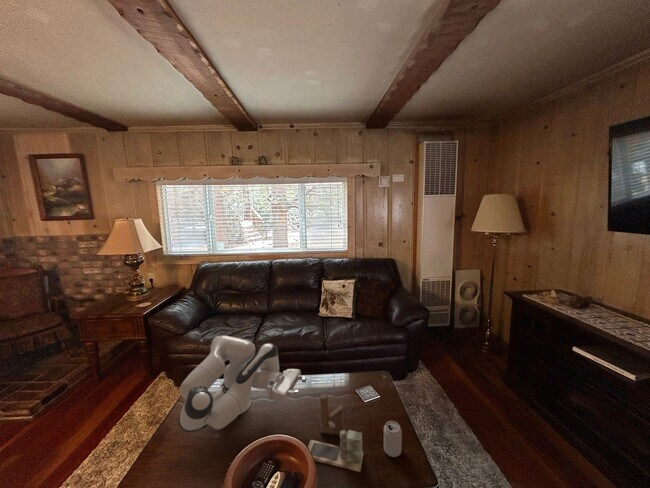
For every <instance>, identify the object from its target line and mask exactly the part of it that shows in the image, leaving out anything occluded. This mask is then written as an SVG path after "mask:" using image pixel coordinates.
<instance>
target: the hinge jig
mask: <svg viewBox="0 0 650 488" xmlns="http://www.w3.org/2000/svg"><path fill="white" fill-rule="evenodd" d="M307 447H308V448H309V450H310V452H311V453H312V455H313V457H314V460H313V461H315V462H319V463H322V464H328V465H331V466H335V467H339V468H343V469H347V470H351V471H354V472H359V473H361V470H362V464H363V459H364V458H363V457H364V451H363V432H359V431H356V430H351V429H348V431H347V430H345V429H344V430H342V431H340V435H339V445H335V444H330V443H327V442H322V441H318V440H315V439H314V440H313V439H310V441H309V443H308V445H307Z"/></svg>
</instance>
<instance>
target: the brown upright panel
mask: <svg viewBox="0 0 650 488" xmlns="http://www.w3.org/2000/svg"><path fill="white" fill-rule="evenodd" d="M319 397H320V427H319V430H320V431H319V432H320V433H321V434H325V435H333V436H335V435H336V436H340V431H342V430H345V428H344V426H345V424H344V403H341V404H339V405H338V406H337V407H336V408H335V409H333V411H331V412H330V413H329V398H328V397H329V396H328V394H327V393H322V394H321V395H320V396H319Z"/></svg>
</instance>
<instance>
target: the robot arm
mask: <svg viewBox="0 0 650 488" xmlns="http://www.w3.org/2000/svg"><path fill="white" fill-rule="evenodd" d="M278 350H279V349H278V346H277V345H275V344H273V343H270V342H266V343H264V344H262V345H261V346H260V347H259V348H258V349H257V351H256V346H255V344H254V342H251V341H250V340H248V339H244V338H239V337H236V336H230V335H217V336H215V337H214V338H213V339H212V341H211V342H210V352H209V354H208V355H207V357H206V358H205V359H204V360H203V361H201V362H200V363H199V364H198V365H197V366H196V367H195V368H194V369H193V370H192V371H191V372H189V374H188V375H187V377H185V379H184V380H183V381H182V383H180V386H179V387H180V388H179V391H180V395H181V396H182V397H183V398H184V400H185V402H184V403H183V406H182V408H181V411H180V414H179V417H178V426H179V428H180V430H181V431H183V432H184V433H189V434H190V433H195V432H197V431H199V430H203V429H205V428H207V426H208V425H209V426H210V427H212V429H214V430H221V429H223V428H225V427H227V425H229V424H230V423H232V422H233V421H234V420H235V419H236V418H237V417H238V416H239V415H241V414H244V413H245V412H247V411H248V410H249V409H250V407H251V406H252V401H251V398H252V397H251V396H252V388H253V389H257V390H266V391H267V392H266V393H267V399H268V400H273V401H274V402H278V403H279V402H280V403H284V402H286V401H287V400H288V397H294V396H299V394H300V390H299V389H295V390H293V389H294V387H296V384H297V383H298V381H301V383H304V384H305V383H306V382H307V377H305V376H302V375H301V374H302V371H301V369H299V368H287V369H286V370H283V372H280V361H279V351H278ZM226 361H229V364H227V366H226V364H225V362H226ZM222 376H223V382H222V383H221V385H220V389H219V390H217V391H216V393H214V395H212V394H211V392H210V391H209V389H210V388H211V387H212V386H213V385H214V384H215V382H217V381H218V380H219V378H220V377H222Z"/></svg>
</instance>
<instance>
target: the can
mask: <svg viewBox="0 0 650 488" xmlns="http://www.w3.org/2000/svg"><path fill="white" fill-rule="evenodd" d="M402 432H403V430H402V427H401V426H400V424H399V423H398V422H397V421H394V420H389V421H387V422H386V423H385V425H384V426H383V450H384V452H385V454H387V455H388V456H389V457H392V458H396V457H398V456H400V455H401V454H402V445H403V444H402V443H403V442H402V441H403V437H402V436H403V433H402Z"/></svg>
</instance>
